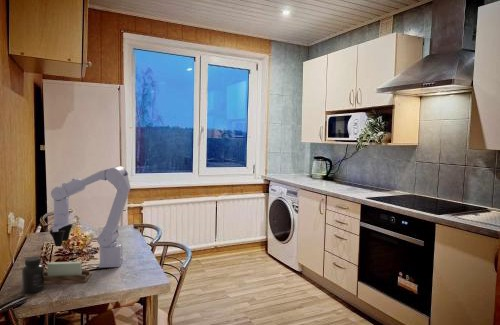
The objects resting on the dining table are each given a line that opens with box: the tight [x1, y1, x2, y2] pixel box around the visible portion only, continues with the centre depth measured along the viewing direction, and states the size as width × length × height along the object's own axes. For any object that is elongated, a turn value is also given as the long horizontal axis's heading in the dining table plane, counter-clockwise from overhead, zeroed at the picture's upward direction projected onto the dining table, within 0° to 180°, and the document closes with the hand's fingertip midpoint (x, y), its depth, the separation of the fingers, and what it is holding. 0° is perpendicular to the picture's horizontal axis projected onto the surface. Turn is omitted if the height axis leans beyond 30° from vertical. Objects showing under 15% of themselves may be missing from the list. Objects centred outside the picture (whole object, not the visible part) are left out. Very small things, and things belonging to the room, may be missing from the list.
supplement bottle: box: [21, 256, 45, 295], centre depth 127 cm, size 7×7×12 cm
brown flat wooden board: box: [44, 269, 93, 285], centre depth 137 cm, size 18×8×2 cm, turn 99°
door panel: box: [46, 261, 83, 276], centre depth 137 cm, size 12×2×6 cm, turn 99°
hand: (61, 243), depth 152 cm, fingers open, 7 cm apart
